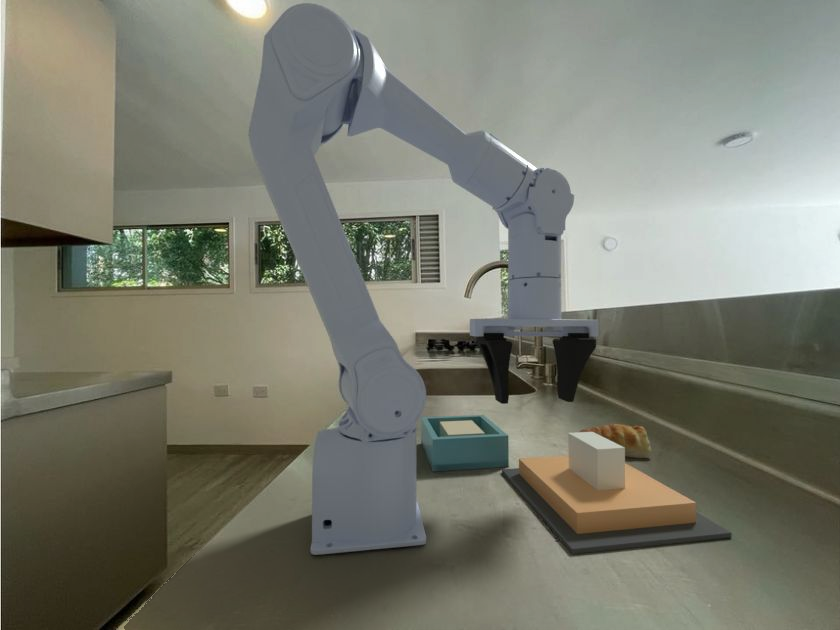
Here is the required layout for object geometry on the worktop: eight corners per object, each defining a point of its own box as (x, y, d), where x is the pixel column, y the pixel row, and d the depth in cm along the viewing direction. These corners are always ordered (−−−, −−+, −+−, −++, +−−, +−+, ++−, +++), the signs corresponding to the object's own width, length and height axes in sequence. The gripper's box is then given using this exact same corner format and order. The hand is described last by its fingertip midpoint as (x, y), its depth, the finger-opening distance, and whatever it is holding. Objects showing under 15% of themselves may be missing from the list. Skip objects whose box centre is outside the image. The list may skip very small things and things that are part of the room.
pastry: (580, 454, 49) (579, 427, 49) (574, 439, 55) (573, 415, 55) (655, 462, 46) (655, 433, 46) (640, 445, 52) (639, 420, 53)
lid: (577, 533, 29) (576, 466, 30) (519, 473, 41) (518, 425, 41) (696, 522, 31) (695, 458, 31) (607, 467, 43) (607, 421, 43)
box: (432, 471, 43) (432, 439, 43) (421, 443, 53) (421, 417, 53) (508, 466, 44) (508, 435, 44) (483, 440, 54) (483, 414, 54)
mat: (572, 554, 27) (572, 549, 27) (501, 472, 42) (501, 469, 42) (731, 537, 30) (731, 532, 30) (611, 465, 44) (611, 462, 44)
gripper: (573, 285, 43) (573, 392, 43) (462, 283, 42) (462, 394, 41) (611, 278, 36) (611, 405, 36) (480, 275, 35) (480, 409, 34)
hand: (534, 400), depth 38 cm, fingers open, 7 cm apart
